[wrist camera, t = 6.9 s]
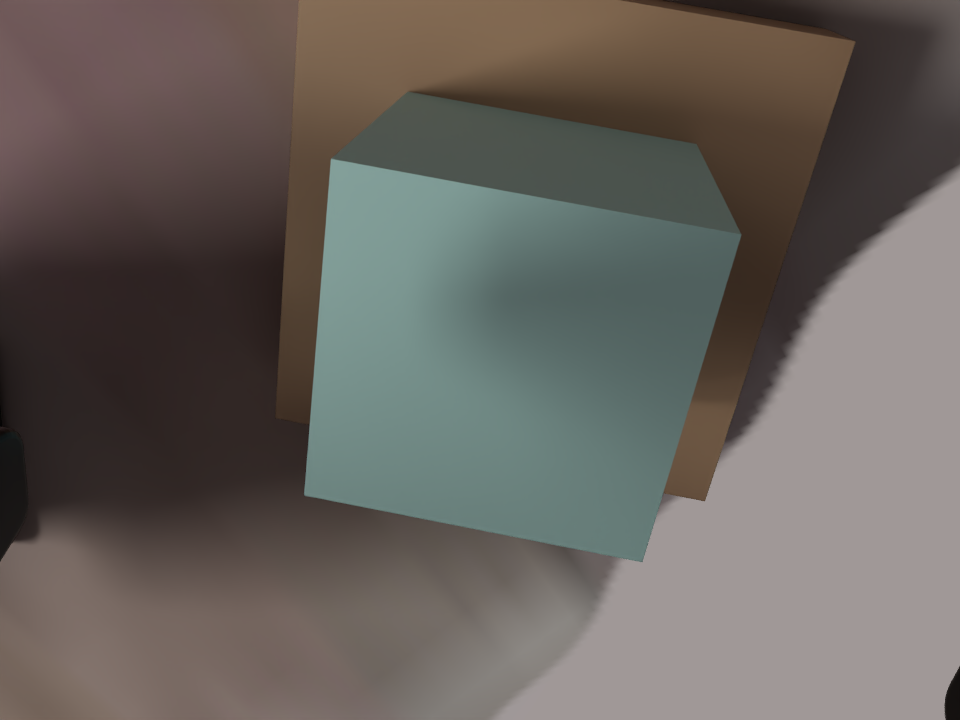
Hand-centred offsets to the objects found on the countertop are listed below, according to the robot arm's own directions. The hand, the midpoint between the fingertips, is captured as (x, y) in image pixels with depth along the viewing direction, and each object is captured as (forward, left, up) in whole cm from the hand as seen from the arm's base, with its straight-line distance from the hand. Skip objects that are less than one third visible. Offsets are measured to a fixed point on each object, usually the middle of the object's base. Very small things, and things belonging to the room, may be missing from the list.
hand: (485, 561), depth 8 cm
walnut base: (0, 0, -11) cm, 11 cm away
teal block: (0, 0, -9) cm, 9 cm away
